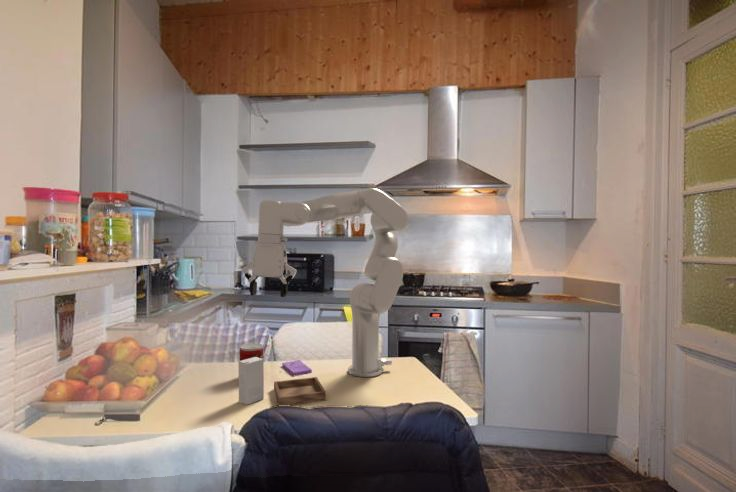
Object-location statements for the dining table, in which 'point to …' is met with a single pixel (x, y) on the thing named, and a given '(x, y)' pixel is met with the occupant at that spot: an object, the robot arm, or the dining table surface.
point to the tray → (299, 391)
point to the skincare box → (251, 380)
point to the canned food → (251, 351)
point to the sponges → (296, 368)
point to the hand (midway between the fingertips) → (268, 295)
